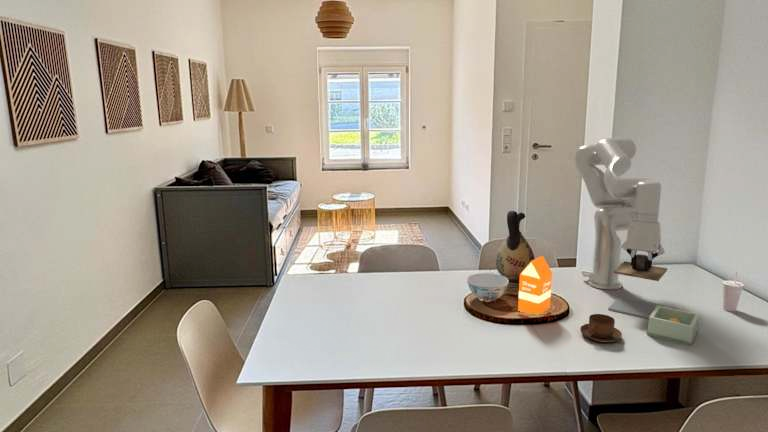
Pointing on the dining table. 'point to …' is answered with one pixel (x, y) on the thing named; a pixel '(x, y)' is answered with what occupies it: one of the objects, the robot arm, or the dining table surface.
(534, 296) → the orange juice
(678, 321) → the clementine
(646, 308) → the mat
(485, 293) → the chinaware
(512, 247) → the ceramic jug
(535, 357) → the dining table surface
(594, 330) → the cup and saucer
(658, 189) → the robot arm
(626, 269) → the lid
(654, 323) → the dish
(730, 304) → the smoothie
